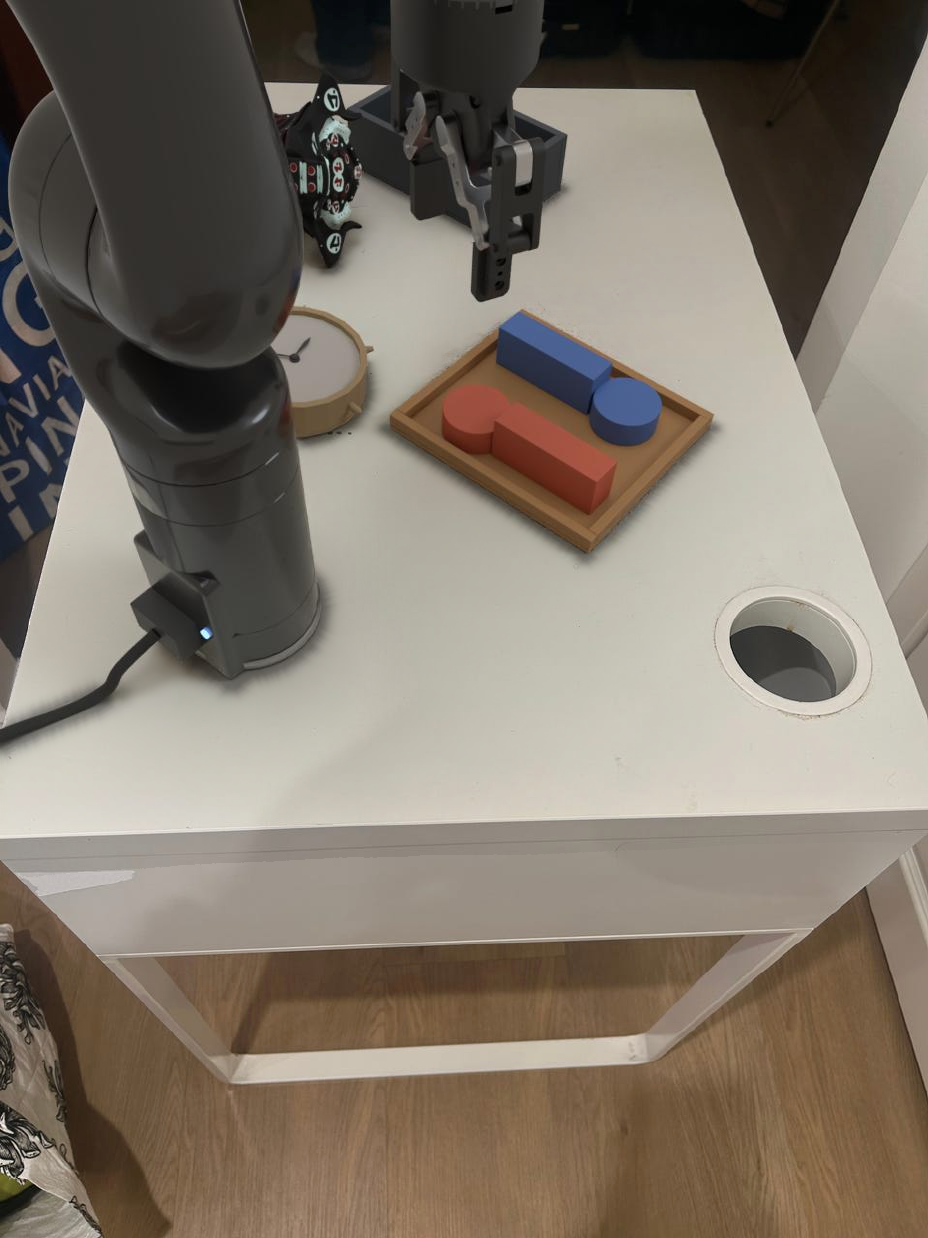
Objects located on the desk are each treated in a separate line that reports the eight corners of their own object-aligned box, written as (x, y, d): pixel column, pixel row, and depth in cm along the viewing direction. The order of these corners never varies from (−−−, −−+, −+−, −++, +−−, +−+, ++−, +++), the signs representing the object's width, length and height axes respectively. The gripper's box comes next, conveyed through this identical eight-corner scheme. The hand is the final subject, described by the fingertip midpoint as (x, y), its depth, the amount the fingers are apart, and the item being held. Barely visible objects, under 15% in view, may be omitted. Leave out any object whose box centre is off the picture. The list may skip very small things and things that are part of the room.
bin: (492, 238, 88) (496, 183, 84) (349, 163, 94) (346, 107, 90) (560, 188, 93) (568, 134, 89) (421, 120, 99) (421, 65, 94)
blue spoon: (524, 338, 80) (528, 302, 77) (668, 419, 76) (679, 384, 73) (485, 371, 78) (488, 334, 75) (631, 456, 73) (641, 422, 70)
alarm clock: (362, 417, 71) (152, 374, 69) (354, 463, 75) (154, 423, 73) (379, 317, 77) (187, 274, 75) (370, 363, 81) (188, 324, 79)
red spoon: (578, 526, 69) (585, 492, 66) (427, 431, 74) (428, 396, 71) (619, 485, 72) (628, 450, 69) (470, 395, 76) (472, 359, 73)
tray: (587, 554, 68) (590, 541, 67) (389, 427, 74) (389, 414, 73) (709, 427, 76) (714, 413, 75) (520, 321, 82) (522, 308, 81)
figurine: (196, 260, 85) (322, 280, 79) (181, 62, 78) (318, 69, 72) (273, 247, 93) (392, 265, 87) (265, 67, 86) (395, 74, 80)
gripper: (337, -92, 48) (356, 204, 62) (463, 42, 41) (453, 343, 55) (473, -114, 50) (462, 178, 64) (614, 10, 44) (568, 308, 57)
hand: (458, 254), depth 59 cm, fingers open, 8 cm apart
